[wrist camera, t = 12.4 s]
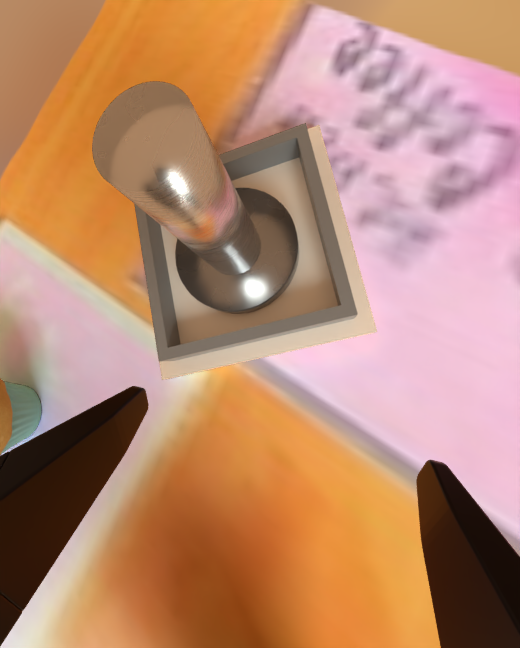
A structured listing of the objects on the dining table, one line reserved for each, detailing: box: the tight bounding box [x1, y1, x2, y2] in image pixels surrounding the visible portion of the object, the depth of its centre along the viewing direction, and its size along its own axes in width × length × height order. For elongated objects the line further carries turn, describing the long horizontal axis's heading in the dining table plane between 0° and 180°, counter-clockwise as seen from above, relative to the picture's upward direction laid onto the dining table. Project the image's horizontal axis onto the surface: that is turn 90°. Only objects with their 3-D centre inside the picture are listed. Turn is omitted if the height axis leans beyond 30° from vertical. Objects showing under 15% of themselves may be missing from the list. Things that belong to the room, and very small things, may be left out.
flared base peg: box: [92, 81, 299, 314], centre depth 16 cm, size 9×9×12 cm
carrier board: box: [134, 123, 377, 380], centre depth 21 cm, size 16×16×3 cm
